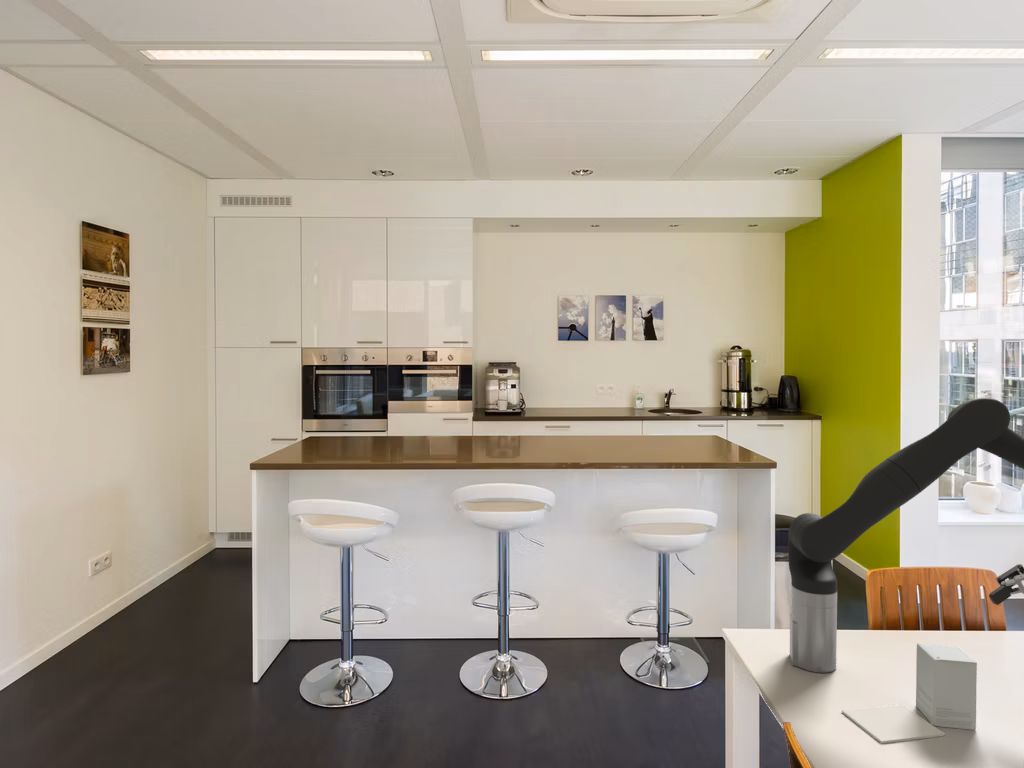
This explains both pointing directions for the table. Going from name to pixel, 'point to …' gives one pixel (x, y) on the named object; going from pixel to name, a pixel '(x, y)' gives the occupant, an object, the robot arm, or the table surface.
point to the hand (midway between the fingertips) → (1011, 607)
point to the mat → (892, 723)
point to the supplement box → (946, 686)
